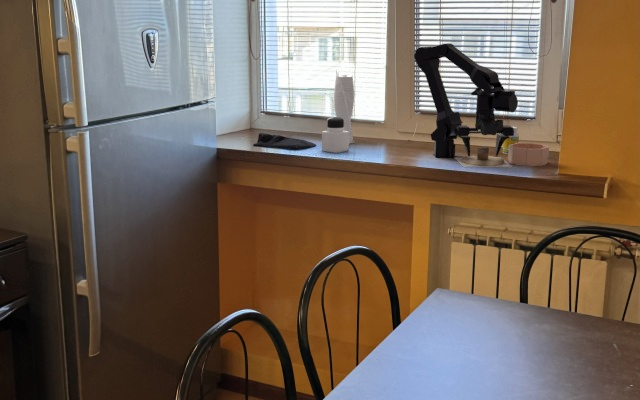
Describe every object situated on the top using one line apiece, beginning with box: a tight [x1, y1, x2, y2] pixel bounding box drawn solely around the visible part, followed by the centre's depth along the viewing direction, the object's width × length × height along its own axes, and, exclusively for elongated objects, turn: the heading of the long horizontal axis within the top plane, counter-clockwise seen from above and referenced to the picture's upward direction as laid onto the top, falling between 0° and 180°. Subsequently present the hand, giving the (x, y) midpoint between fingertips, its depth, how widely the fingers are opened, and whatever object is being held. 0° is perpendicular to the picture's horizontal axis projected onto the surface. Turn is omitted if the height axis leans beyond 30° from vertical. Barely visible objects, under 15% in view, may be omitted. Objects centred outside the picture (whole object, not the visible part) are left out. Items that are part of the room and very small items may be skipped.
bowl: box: [507, 142, 550, 167], centre depth 254 cm, size 12×12×6 cm
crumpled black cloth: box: [252, 132, 317, 150], centre depth 287 cm, size 15×22×5 cm
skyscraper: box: [333, 69, 355, 145], centre depth 291 cm, size 8×8×28 cm
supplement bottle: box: [502, 126, 520, 155], centre depth 271 cm, size 5×5×10 cm
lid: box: [461, 146, 505, 166], centre depth 254 cm, size 14×14×5 cm
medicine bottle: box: [321, 117, 350, 154], centre depth 276 cm, size 7×7×12 cm
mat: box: [454, 156, 514, 168], centre depth 255 cm, size 16×16×1 cm
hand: (482, 156), depth 254 cm, fingers open, 9 cm apart
